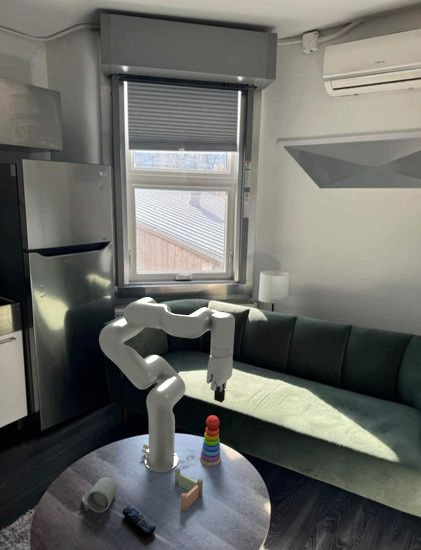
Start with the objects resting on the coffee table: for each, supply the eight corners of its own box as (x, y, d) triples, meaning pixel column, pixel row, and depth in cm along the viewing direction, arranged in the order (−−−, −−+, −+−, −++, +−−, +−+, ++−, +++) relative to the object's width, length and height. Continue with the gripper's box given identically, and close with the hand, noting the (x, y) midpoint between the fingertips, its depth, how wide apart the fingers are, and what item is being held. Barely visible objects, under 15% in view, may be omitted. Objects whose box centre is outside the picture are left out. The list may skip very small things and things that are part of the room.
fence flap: (199, 491, 137) (199, 477, 136) (203, 494, 136) (203, 480, 135) (179, 510, 129) (179, 495, 128) (183, 513, 128) (183, 498, 127)
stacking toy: (218, 469, 149) (220, 424, 145) (197, 465, 151) (199, 421, 146) (222, 455, 157) (224, 412, 152) (202, 452, 158) (204, 409, 154)
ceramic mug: (118, 495, 135) (117, 475, 133) (109, 514, 127) (108, 493, 125) (88, 491, 136) (87, 471, 135) (77, 510, 129) (76, 489, 127)
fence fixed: (173, 484, 140) (174, 470, 139) (176, 481, 141) (176, 467, 140) (195, 494, 135) (195, 480, 134) (198, 491, 137) (198, 477, 136)
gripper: (223, 340, 140) (220, 388, 144) (200, 354, 128) (198, 406, 132) (242, 345, 136) (239, 394, 140) (220, 360, 124) (217, 414, 128)
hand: (219, 400), depth 136 cm, fingers closed
